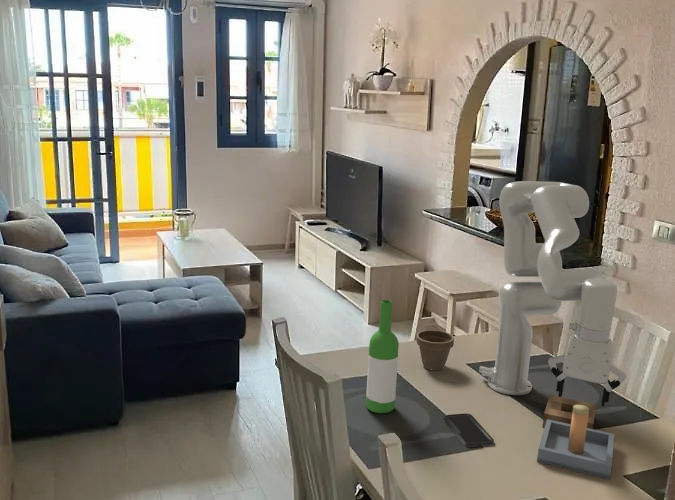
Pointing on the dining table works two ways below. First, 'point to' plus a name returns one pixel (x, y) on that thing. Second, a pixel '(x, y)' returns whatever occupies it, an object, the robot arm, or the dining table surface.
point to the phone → (468, 430)
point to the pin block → (566, 410)
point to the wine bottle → (382, 364)
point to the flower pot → (434, 348)
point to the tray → (557, 453)
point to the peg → (578, 429)
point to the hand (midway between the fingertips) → (581, 399)
